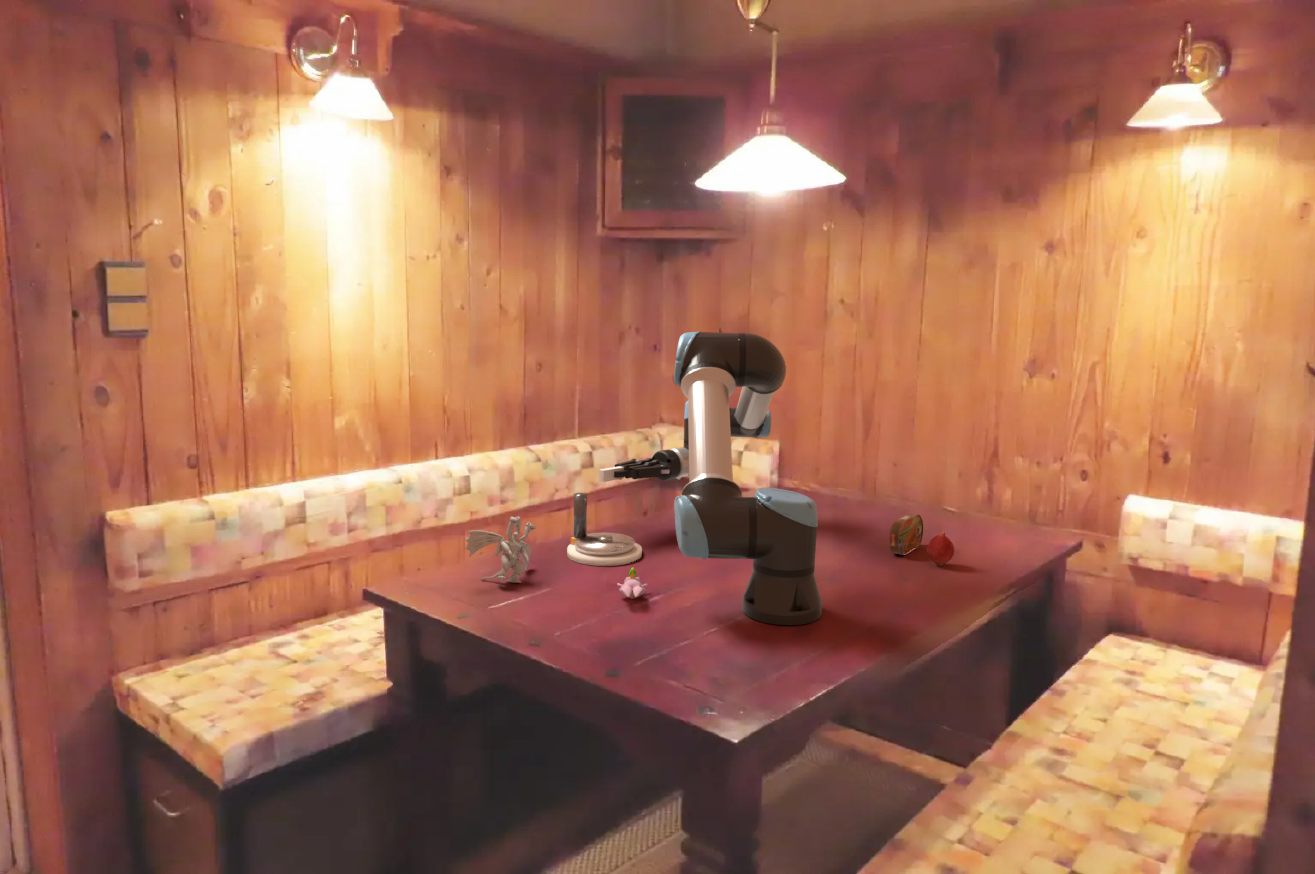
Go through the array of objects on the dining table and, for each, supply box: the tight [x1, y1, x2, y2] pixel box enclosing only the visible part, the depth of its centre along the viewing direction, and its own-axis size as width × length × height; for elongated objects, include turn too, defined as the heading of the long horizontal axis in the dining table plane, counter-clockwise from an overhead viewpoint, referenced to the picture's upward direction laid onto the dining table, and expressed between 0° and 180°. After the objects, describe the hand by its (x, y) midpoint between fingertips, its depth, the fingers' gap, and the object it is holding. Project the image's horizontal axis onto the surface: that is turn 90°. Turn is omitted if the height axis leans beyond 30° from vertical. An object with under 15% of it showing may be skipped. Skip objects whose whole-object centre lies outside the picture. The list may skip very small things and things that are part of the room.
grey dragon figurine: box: [464, 515, 536, 584], centre depth 190 cm, size 10×18×14 cm, turn 136°
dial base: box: [566, 535, 643, 567], centre depth 209 cm, size 17×17×3 cm
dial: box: [573, 492, 636, 556], centre depth 208 cm, size 14×14×12 cm
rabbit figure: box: [616, 566, 649, 600], centre depth 181 cm, size 6×6×15 cm
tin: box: [889, 513, 924, 556], centre depth 216 cm, size 15×3×8 cm, turn 143°
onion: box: [926, 531, 955, 566], centre depth 205 cm, size 6×6×8 cm
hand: (601, 475), depth 213 cm, fingers closed
